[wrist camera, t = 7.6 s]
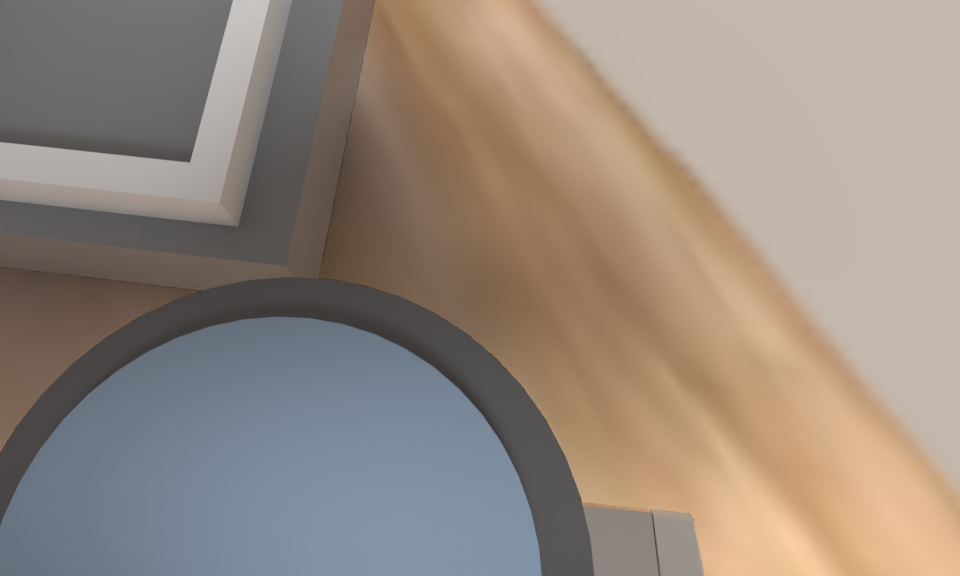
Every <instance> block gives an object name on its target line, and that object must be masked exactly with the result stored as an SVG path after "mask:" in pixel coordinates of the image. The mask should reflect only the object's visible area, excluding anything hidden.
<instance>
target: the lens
mask: <svg viewBox="0 0 960 576" xmlns="http://www.w3.org/2000/svg"><path fill="white" fill-rule="evenodd" d="M0 576H594V567H593V558H592V549H591V540H590V535H589V531H588V527H587V522H586V518H585V514H584V510H583V506H582V501H581V497H580V494H579V492H578V489H577V486H576V484H575V481H574V478H573V476H572V473H571V470H570V468H569V465H568V462H567V460H566V457H565V455H564V453H563V451H562V449H561V448H560V446H559V444H558V442H557V440H556V438H555V436H554V434H553V432H552V430H551V429H550V427H549V425H548V423H547V421H546V419H545V418H544V417H543V415H542V414H541V412H540V411H539V410H538V408H537V407H536V405H535V404H534V402H533V401H532V400H531V398H530V397H529V395H528V394H527V393H526V391H525V390H524V388H523V387H522V386H521V385H520V384H519V383H518V382H517V380H516V379H515V378H514V377H513V376H512V375H511V374H510V373H509V372H508V371H507V370H506V368H505V367H504V366H503V365H502V364H501V363H500V362H499V361H498V360H497V359H496V358H495V357H494V356H493V355H492V354H490V353H489V352H488V351H487V350H486V349H484V348H483V347H482V346H481V345H480V344H478V343H477V342H476V341H475V340H474V339H472V338H471V337H470V336H469V335H468V334H466V333H465V332H463V331H462V330H460V329H459V328H457V327H456V326H454V325H452V324H451V323H449V322H448V321H446V320H445V319H443V318H441V317H440V316H438V315H437V314H435V313H433V312H431V311H429V310H427V309H425V308H423V307H420V306H418V305H416V304H414V303H412V302H410V301H407V300H405V299H403V298H401V297H399V296H395V295H392V294H389V293H386V292H383V291H379V290H376V289H373V288H370V287H367V286H364V285H358V284H352V283H347V282H341V281H335V280H330V279H319V278H297V277H283V278H270V279H257V280H248V281H243V282H238V283H233V284H228V285H223V286H219V287H214V288H210V289H207V290H204V291H201V292H198V293H195V294H192V295H189V296H186V297H183V298H180V299H177V300H174V301H172V302H170V303H168V304H166V305H164V306H162V307H160V308H157V309H155V310H153V311H151V312H149V313H147V314H145V315H143V316H141V317H139V318H137V319H135V320H134V321H132V322H131V323H129V324H127V325H126V326H124V327H123V328H121V329H119V330H118V331H116V332H115V333H113V334H111V335H110V336H108V337H106V338H105V339H104V340H102V341H101V342H100V343H99V344H97V345H96V346H95V347H94V348H92V349H91V350H90V351H88V352H87V353H86V354H85V355H83V356H82V357H81V358H80V359H78V360H77V361H76V362H75V363H73V364H72V365H71V366H70V367H69V368H68V369H67V370H66V371H65V372H64V373H63V374H62V375H61V376H60V377H59V378H58V379H57V380H56V381H55V382H54V383H53V384H52V385H51V386H50V387H49V388H48V389H47V390H46V391H45V392H44V393H43V394H42V396H41V397H40V398H39V399H38V401H37V402H36V403H35V404H34V406H33V407H32V408H31V409H30V411H29V412H28V413H27V414H26V416H25V417H24V418H23V419H22V421H21V422H20V423H19V424H18V426H17V427H16V428H15V430H14V432H13V433H12V435H11V436H10V438H9V440H8V441H7V443H6V444H5V446H4V448H3V449H2V451H1V452H0Z"/></svg>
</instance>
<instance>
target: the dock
mask: <svg viewBox="0 0 960 576" xmlns="http://www.w3.org/2000/svg"><path fill="white" fill-rule="evenodd" d="M374 1H375V0H0V267H6V268H15V269H23V270H32V271H40V272H48V273H57V274H65V275H74V276H82V277H90V278H99V279H107V280H116V281H124V282H133V283H141V284H149V285H158V286H166V287H175V288H183V289H191V290H200V291H204V290H207V289H210V288H214V287H219V286H223V285H228V284H233V283H238V282H243V281H248V280H257V279H270V278H283V277H297V278H319V274H320V269H321V264H322V259H323V254H324V249H325V244H326V239H327V234H328V229H329V224H330V219H331V214H332V209H333V204H334V199H335V194H336V190H337V185H338V180H339V175H340V170H341V165H342V160H343V155H344V150H345V145H346V140H347V135H348V130H349V125H350V120H351V115H352V110H353V105H354V100H355V95H356V91H357V86H358V81H359V76H360V71H361V66H362V61H363V56H364V51H365V46H366V41H367V36H368V31H369V26H370V21H371V16H372V11H373V6H374Z"/></svg>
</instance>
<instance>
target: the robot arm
mask: <svg viewBox="0 0 960 576" xmlns="http://www.w3.org/2000/svg"><path fill="white" fill-rule="evenodd" d="M582 506H583V510H584V514H585V518H586V522H587V527H588V531H589V535H590V540H591V549H592V558H593V567H594V576H705V575H704V570H703V565H702V559H701V554H700V548H699V543H698V538H697V532H696V527H695V522H694V519H693V517H692V516H691V515H690V514H689V513H680V512H670V511H660V510H651V509H650V510H649V511H648V510H646V509H637V508H628V507H620V506H611V505H602V504H593V503H584V502H582Z"/></svg>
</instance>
